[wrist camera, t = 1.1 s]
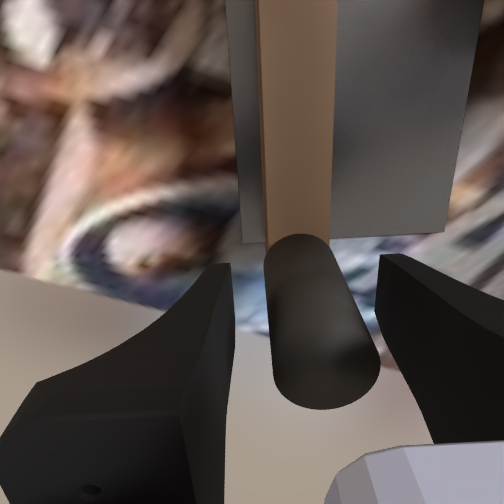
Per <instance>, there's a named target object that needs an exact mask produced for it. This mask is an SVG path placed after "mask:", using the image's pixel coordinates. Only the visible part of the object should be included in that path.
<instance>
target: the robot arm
mask: <svg viewBox="0 0 504 504" xmlns="http://www.w3.org/2000/svg"><path fill="white" fill-rule="evenodd" d="M374 312H375V315H376V318H377V321H378V324H379V327H380V330H381V332H382V335H383V338H384V340H385V342H386V344H387V346H388V348H389V350H390V352H391V354H392V356H393V358H394V360H395V361H396V363H397V365H398V367H399V369H400V371H401V373H402V375H403V376H404V378H405V380H406V382H407V384H408V386H409V388H410V390H411V392H412V394H413V396H414V397H415V399H416V402H417V404H418V406H419V408H420V410H421V412H422V414H423V417H424V420H425V422H426V425H427V427H428V430H429V432H430V435H431V438H432V440H433V443H434V444H425V445H406V446H396V447H392V448H388V449H383V450H379V451H375V452H371V453H366V454H364V455H363V456H361V457H360V458H358V459H357V460H355V461H354V462H352V463H351V464H349V465H348V466H346V467H345V468H343V469H342V470H340V471H339V472H338V474H337V475H336V476H335V478H334V480H333V482H332V484H331V486H330V489H329V491H328V493H327V495H326V498H325V503H324V504H504V300H501V299H499V298H496V297H494V296H491V295H489V294H486V293H484V292H482V291H479V290H477V289H475V288H473V287H470V286H468V285H466V284H464V283H462V282H459V281H457V280H455V279H453V278H451V277H449V276H447V275H445V274H443V273H441V272H439V271H437V270H435V269H433V268H431V267H429V266H427V265H425V264H423V263H421V262H419V261H417V260H415V259H413V258H411V257H408V256H406V255H403V254H382V255H380V259H379V269H378V280H377V290H376V300H375V310H374ZM234 350H235V312H234V300H233V289H232V278H231V266H230V263H221V264H210V265H209V266H208V267H207V268H206V269H205V271H204V272H203V273H202V274H201V275H200V277H199V278H198V279H197V280H196V282H195V283H194V284H193V285H192V286H191V287H190V288H189V290H188V291H187V292H186V293H185V294H184V295H183V296H182V297H181V298H180V299H179V300H178V301H177V302H176V303H175V304H174V305H173V306H172V307H171V308H170V309H169V310H168V311H167V312H166V313H164V314H163V315H162V316H161V317H160V318H158V319H157V320H156V321H155V322H153V323H152V324H151V325H150V326H148V327H147V328H145V329H144V330H143V331H141V332H139V333H138V334H136V335H135V336H133V337H131V338H130V339H128V340H127V341H125V342H124V343H122V344H120V345H119V346H117V347H115V348H113V349H111V350H110V351H108V352H106V353H104V354H102V355H100V356H98V357H96V358H94V359H92V360H90V361H88V362H86V363H84V364H81V365H79V366H77V367H75V368H72V369H70V370H67V371H65V372H62V373H60V374H57V375H55V376H52V377H50V378H47V379H45V380H42V381H39V382H37V383H36V384H35V385H34V387H33V388H32V389H31V391H30V392H29V394H28V395H27V397H26V398H25V399H24V401H23V402H22V404H21V406H20V407H19V409H18V410H17V412H16V413H15V415H14V417H13V418H12V420H11V421H10V423H9V424H8V426H7V427H6V429H5V431H4V432H3V434H2V435H1V437H0V485H1V487H2V489H3V491H4V493H5V495H6V497H7V499H8V501H9V503H10V504H224V479H225V434H226V415H227V405H228V397H229V389H230V382H231V374H232V366H233V358H234Z"/></svg>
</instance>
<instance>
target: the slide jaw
mask: <svg viewBox="0 0 504 504" xmlns="http://www.w3.org/2000/svg"><path fill="white" fill-rule="evenodd" d="M254 1H255V24H256V47H257V70H258V93H259V115H260V138H261V161H262V184H263V207H264V230H265V248H266V257H265V260H264V278H265V290H266V301H267V312H268V323H269V334H270V345H271V355H272V367H273V376H274V381H275V384H276V386H277V388H278V390H279V391H280V393H281V394H282V395H283V396H284V397H285V398H287V399H288V400H289V401H291V402H293V403H294V404H296V405H299V406H302V407H305V408H309V409H318V410H326V409H334V408H339V407H343V406H345V405H348V404H351V403H353V402H355V401H356V400H358V399H359V398H361V397H362V396H364V395H365V394H366V393H367V392H368V391H369V390H370V389H371V388H372V386H373V385H374V384H375V382H376V380H377V378H378V376H379V372H380V363H381V362H380V356H379V353H378V351H377V349H376V347H375V344H374V342H373V340H372V338H371V336H370V333H369V331H368V329H367V327H366V325H365V322H364V320H363V318H362V316H361V314H360V312H359V309H358V307H357V305H356V303H355V301H354V298H353V296H352V294H351V292H350V290H349V287H348V285H347V283H346V281H345V279H344V277H343V274H342V272H341V270H340V268H339V266H338V263H337V261H336V259H335V257H334V255H333V252H332V251H331V249H330V247H329V240H330V211H331V182H332V153H333V124H334V96H335V67H336V38H337V9H338V0H254Z"/></svg>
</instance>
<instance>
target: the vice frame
mask: <svg viewBox="0 0 504 504" xmlns="http://www.w3.org/2000/svg"><path fill="white" fill-rule="evenodd" d="M225 4H226V18H227V32H228V46H229V60H230V74H231V88H232V102H233V117H234V131H235V145H236V159H237V173H238V187H239V201H240V215H241V229H242V243H258V242H265V230H264V207H263V184H262V161H261V138H260V115H259V93H258V70H257V47H256V24H255V1H254V0H225ZM483 4H484V0H338V9H337V38H336V67H335V96H334V124H333V153H332V182H331V211H330V238H347V237H364V236H382V235H400V234H418V233H436V232H444V230H445V225H446V219H447V213H448V207H449V201H450V196H451V190H452V184H453V178H454V172H455V167H456V161H457V155H458V149H459V143H460V138H461V132H462V126H463V120H464V114H465V108H466V103H467V97H468V91H469V85H470V79H471V74H472V68H473V62H474V56H475V50H476V45H477V39H478V33H479V27H480V21H481V16H482V10H483Z"/></svg>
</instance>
